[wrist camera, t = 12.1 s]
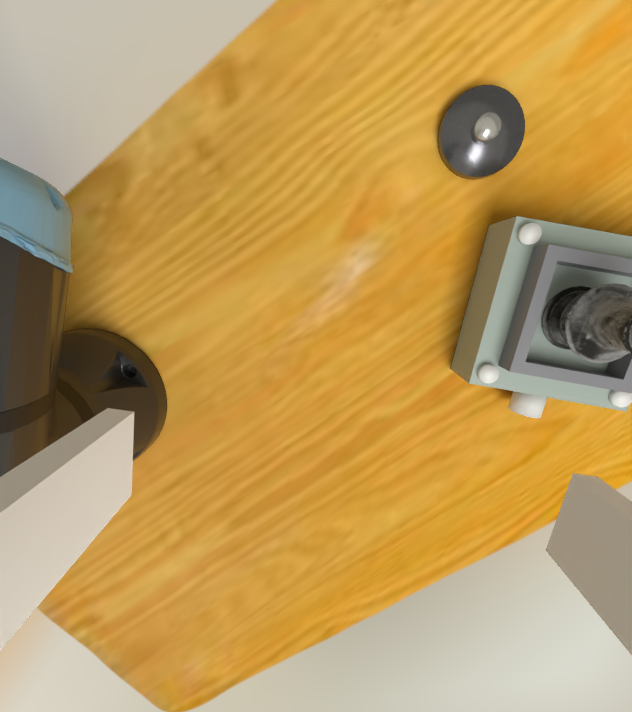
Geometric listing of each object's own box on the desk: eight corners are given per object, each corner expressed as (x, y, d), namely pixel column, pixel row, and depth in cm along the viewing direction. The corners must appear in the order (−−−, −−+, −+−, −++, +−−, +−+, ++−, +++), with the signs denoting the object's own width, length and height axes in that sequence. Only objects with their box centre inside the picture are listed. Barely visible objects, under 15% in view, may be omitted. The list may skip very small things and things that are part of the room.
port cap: (429, 172, 32) (436, 164, 30) (449, 84, 30) (457, 70, 28) (505, 185, 32) (518, 179, 30) (529, 98, 30) (544, 85, 28)
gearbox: (444, 390, 36) (470, 417, 30) (489, 225, 33) (530, 211, 26) (578, 414, 36) (635, 446, 29) (638, 251, 33) (719, 245, 26)
